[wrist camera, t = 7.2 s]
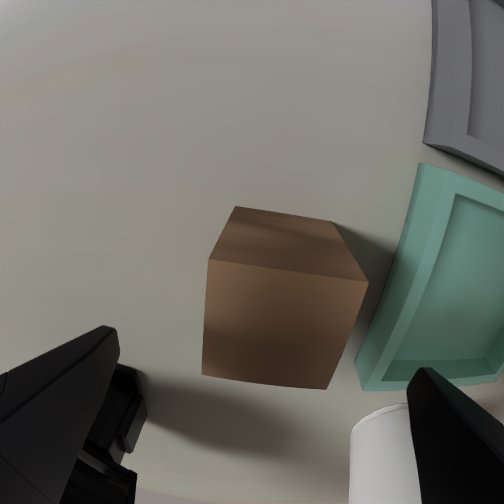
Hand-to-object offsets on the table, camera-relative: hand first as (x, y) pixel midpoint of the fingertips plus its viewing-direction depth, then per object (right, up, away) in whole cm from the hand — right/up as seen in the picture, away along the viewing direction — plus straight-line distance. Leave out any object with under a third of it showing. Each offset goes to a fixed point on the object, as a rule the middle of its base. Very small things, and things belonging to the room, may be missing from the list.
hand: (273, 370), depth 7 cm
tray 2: (+12, +1, +7) cm, 14 cm away
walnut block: (+1, +3, +7) cm, 7 cm away
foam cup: (+11, -11, +12) cm, 20 cm away
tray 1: (+14, +13, +2) cm, 19 cm away
